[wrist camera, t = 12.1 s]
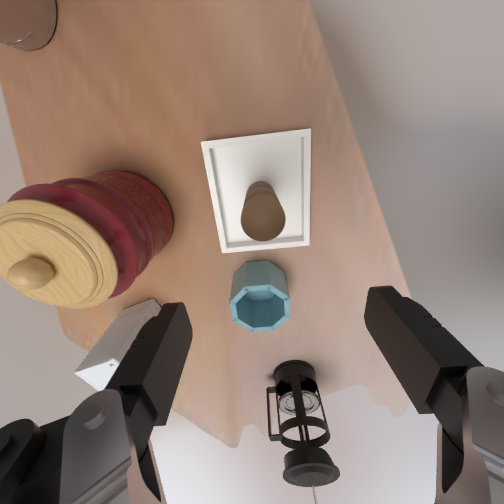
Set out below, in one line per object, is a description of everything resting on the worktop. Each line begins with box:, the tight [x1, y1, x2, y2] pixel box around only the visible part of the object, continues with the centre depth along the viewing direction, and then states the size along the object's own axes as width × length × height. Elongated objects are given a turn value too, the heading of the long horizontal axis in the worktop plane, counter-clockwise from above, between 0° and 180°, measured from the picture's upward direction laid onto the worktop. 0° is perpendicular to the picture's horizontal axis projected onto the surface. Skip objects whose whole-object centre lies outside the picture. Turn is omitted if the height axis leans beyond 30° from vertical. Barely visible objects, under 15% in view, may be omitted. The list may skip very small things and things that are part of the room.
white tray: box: [201, 128, 311, 253], centre depth 30 cm, size 15×13×2 cm
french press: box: [267, 360, 340, 504], centre depth 39 cm, size 12×9×23 cm
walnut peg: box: [241, 181, 286, 241], centre depth 24 cm, size 4×4×12 cm
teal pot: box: [229, 260, 290, 332], centre depth 34 cm, size 9×9×7 cm
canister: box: [0, 171, 173, 309], centre depth 24 cm, size 13×13×18 cm
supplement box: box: [75, 298, 161, 391], centre depth 36 cm, size 7×7×13 cm
